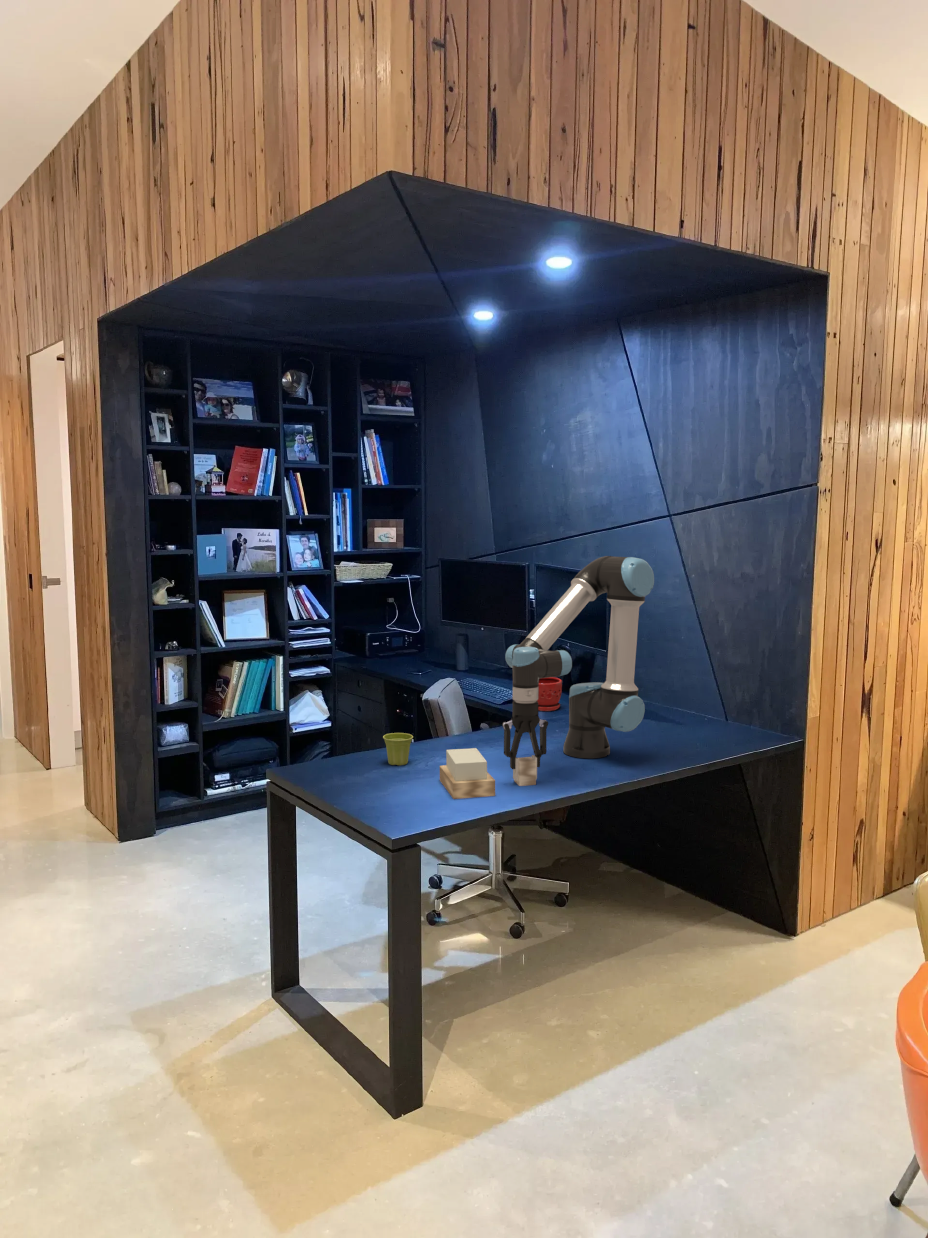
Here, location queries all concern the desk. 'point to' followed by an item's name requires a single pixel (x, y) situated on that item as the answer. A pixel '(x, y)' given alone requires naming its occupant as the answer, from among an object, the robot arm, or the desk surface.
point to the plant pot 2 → (549, 693)
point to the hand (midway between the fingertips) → (524, 778)
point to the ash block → (526, 771)
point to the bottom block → (467, 785)
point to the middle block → (466, 764)
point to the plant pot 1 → (398, 747)
